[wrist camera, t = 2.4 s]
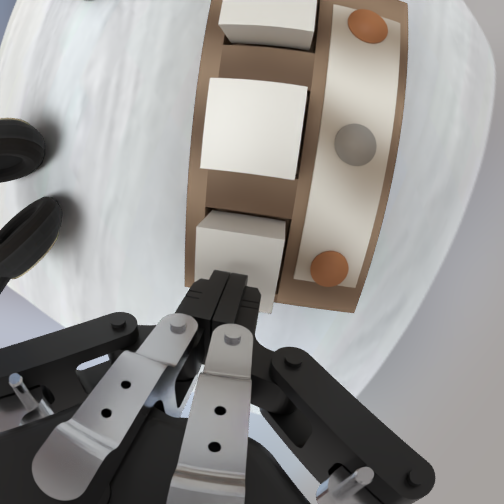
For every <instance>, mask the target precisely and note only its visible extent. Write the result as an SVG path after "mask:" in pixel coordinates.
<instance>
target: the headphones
mask: <svg viewBox="0 0 504 504" xmlns="http://www.w3.org/2000/svg"><path fill="white" fill-rule="evenodd" d="M44 151H45V143H44V139H43V137H42V135H41V134H40V133H39V132H38V131H37V130H36V129H35V128H34V127H32V126H31V125H30V124H29V123H27V122H25V121H23V120H20V119H15V118H1V119H0V183H1V182H7V181H11V180H15V179H18V178H21V177H24V176H26V175H28V174H30V173H32V172H33V171H34V170H35V169H36V168H37V167H38V166H39V165H40V164H41V162H42V159H43V157H44ZM61 219H62V211H61V208H60V207H59V205H58V203H57V202H56V200H54V199H53V198H51V197H43V198H41V199H39V200H37V201H35V202H33V203H31V204H30V205H28V206H27V207H26V208H24V209H23V210H22V211H20V212H19V213H18V214H17V215H15V216H14V217H13V218H12V219H11V220H10V221H9V222H8V223H7V224H6V225H5V226H4V227H3V228H2V229H1V230H0V294H1V292H2V291H3V289H4V288H5V286H6V285H7V283H8V282H9V280H10V279H16V278H18V277H20V276H22V275H24V274H25V273H27V272H28V271H29V270H30V269H32V268H33V267H34V266H35V265H36V264H37V263H38V262H39V261H40V260H41V259H42V258H43V257H44V256H45V255H46V254H47V253H48V251H49V250H50V249H51V248H52V246H53V245H54V243H55V242H56V240H57V238H58V235H59V229H60V226H61Z"/></svg>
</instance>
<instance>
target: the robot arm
mask: <svg viewBox="0 0 504 504" xmlns="http://www.w3.org/2000/svg"><path fill="white" fill-rule="evenodd" d="M247 281H248V275H244V274H238V273H231V272H226V271H220V270H214V271H213V273H212V275H211V276H210V278H209V280H208V279H202V278H201V279H199V280H197V281H196V282H194V283H193V284H192V286H191V287H190V289H189V291H188V292H187V294H186V296H185V297H184V299H183V300H182V302H181V304H180V305H179V307H178V309H177V310H176V312H175V314H170V315H167V316H165V317H163V318H162V319H161V320H160V322H159V323H158V324H157V325H152V326H149V325H137V320H136V318H135V317H134V316H133V315H131V314H129V313H125V312H115V313H111V314H108V315H105V316H102V317H99V318H96V319H93V320H90V321H87V322H84V323H81V324H78V325H74V326H71V327H68V328H65V329H62V330H59V331H56V332H53V333H49V334H46V335H43V336H40V337H37V338H34V339H30V340H27V341H24V342H21V343H18V344H14V345H11V346H8V347H5V348H1V349H0V504H310V502H309V501H308V500H307V499H306V498H305V496H303V494H302V493H301V492H300V491H299V489H298V488H297V487H296V485H295V484H294V483H293V482H292V480H291V479H290V478H289V476H288V475H287V474H286V473H285V471H284V470H283V469H282V467H281V466H280V465H279V463H278V462H277V461H276V459H275V458H274V457H273V455H272V454H271V453H270V452H269V451H268V450H267V449H266V448H265V447H263V446H262V445H261V444H260V443H258V442H256V441H255V440H253V439H251V438H250V437H248V430H249V429H248V428H249V415H250V403H251V404H253V405H255V406H258V407H260V412H261V414H262V415H263V417H264V418H265V419H266V420H267V422H268V423H269V424H270V425H271V427H272V428H273V429H274V431H275V432H276V433H277V434H278V435H279V437H280V438H281V439H282V440H283V442H284V443H285V444H286V445H287V446H288V448H289V449H290V450H291V451H292V452H293V454H295V456H296V457H297V458H298V459H299V460H300V462H301V463H302V464H303V465H304V466H305V467H306V468H307V469H308V471H309V472H310V473H311V474H312V475H313V476H314V477H315V478H316V480H317V481H318V482H320V484H321V485H320V486H319V487H318V489H317V492H316V500H317V502H318V504H412V503H414V502H415V501H417V500H419V499H421V498H422V497H424V496H425V495H427V494H428V493H429V492H430V491H431V490H432V488H433V486H434V483H435V472H434V469H433V468H432V466H431V465H430V464H429V463H428V462H427V461H426V460H425V459H424V458H422V457H421V456H420V455H419V454H418V453H417V452H415V451H414V450H413V449H412V448H411V447H410V446H408V445H407V444H406V443H405V442H404V441H403V440H401V439H400V438H399V437H398V436H397V435H396V434H395V433H394V432H393V431H391V430H390V429H389V428H388V427H387V426H386V425H385V424H384V423H382V422H381V421H380V420H379V419H378V418H377V417H376V416H375V415H373V414H372V413H371V412H370V411H369V410H368V409H367V408H366V407H365V406H363V405H362V404H361V403H360V402H359V401H358V400H357V399H356V398H355V397H354V396H353V395H352V394H351V393H349V392H348V391H347V390H346V389H345V388H344V387H343V386H342V385H341V384H340V383H339V382H338V381H337V380H336V379H334V378H333V377H332V376H331V375H330V374H329V373H328V372H327V371H326V370H325V369H324V368H323V367H322V366H321V365H320V364H319V363H318V362H317V361H316V360H314V359H313V358H312V357H311V356H310V355H309V354H308V353H307V352H305V351H304V350H302V349H299V348H295V347H283V348H280V349H278V350H277V351H275V352H274V351H271V350H269V349H267V348H265V347H263V346H262V345H260V344H259V343H258V341H257V340H256V338H255V330H256V325H257V319H258V313H259V307H260V300H261V293H260V291H259V290H258V288H255V287H249V286H247ZM106 354H108V356H109V361H106V362H104V363H101V364H98V365H95V366H93V367H90V368H87V369H85V370H76V368H77V367H78V366H79V365H80V364H81V363H84V362H87V361H90V360H92V359H95V358H98V357H100V356H104V355H106ZM201 364H203V365H205V366H204V370H203V373H200V374H199V377H198V372H199V370H200V367H201ZM197 379H198V381H197ZM196 382H197V385H196V389H195V393H194V397H193V401H192V406H191V410H190V414H189V418H180V416H181V413H182V411H183V409H184V407H185V405H186V403H187V401H188V399H189V396H190V394H191V392H192V390H193V388H194V386H195V384H196Z"/></svg>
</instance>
